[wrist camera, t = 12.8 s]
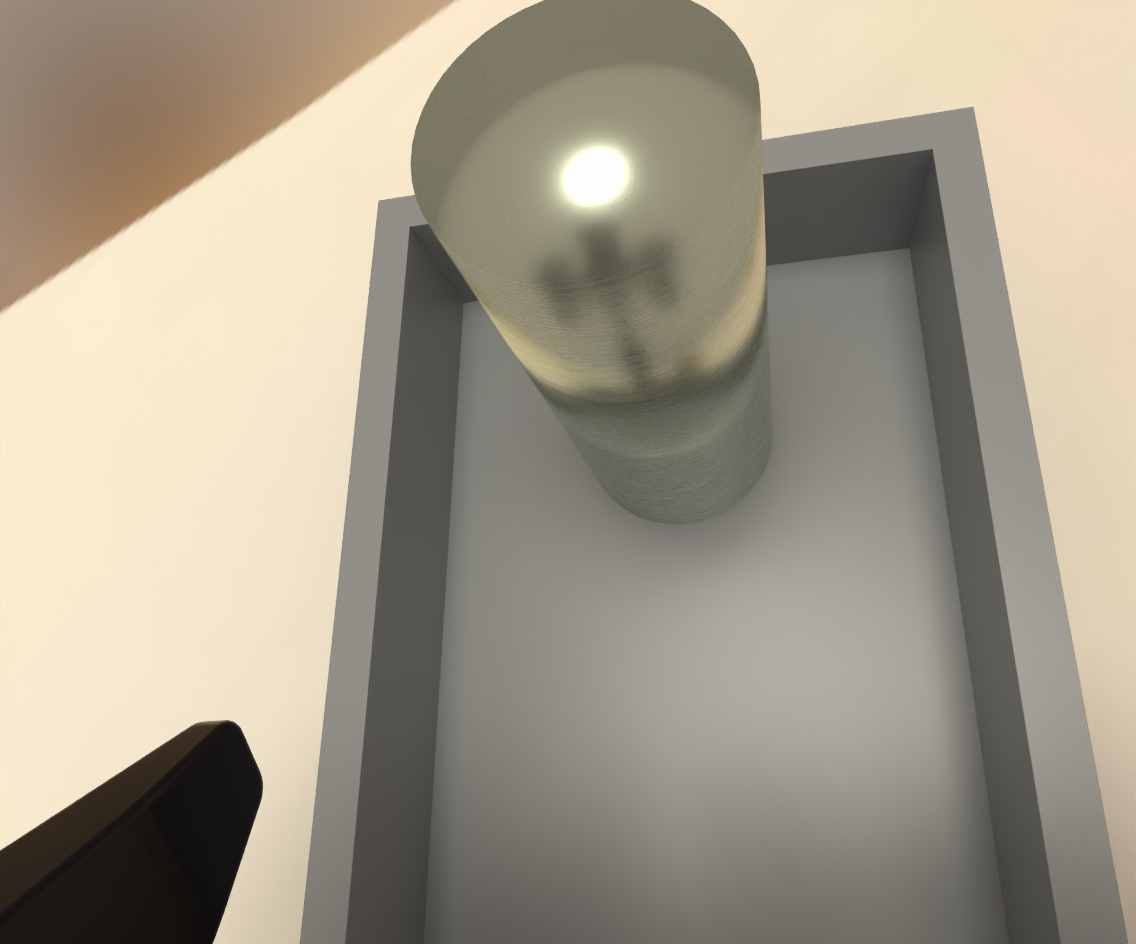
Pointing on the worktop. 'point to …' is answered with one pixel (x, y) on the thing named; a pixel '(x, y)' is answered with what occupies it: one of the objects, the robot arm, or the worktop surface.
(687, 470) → the sage tin
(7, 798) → the worktop surface
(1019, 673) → the tote
